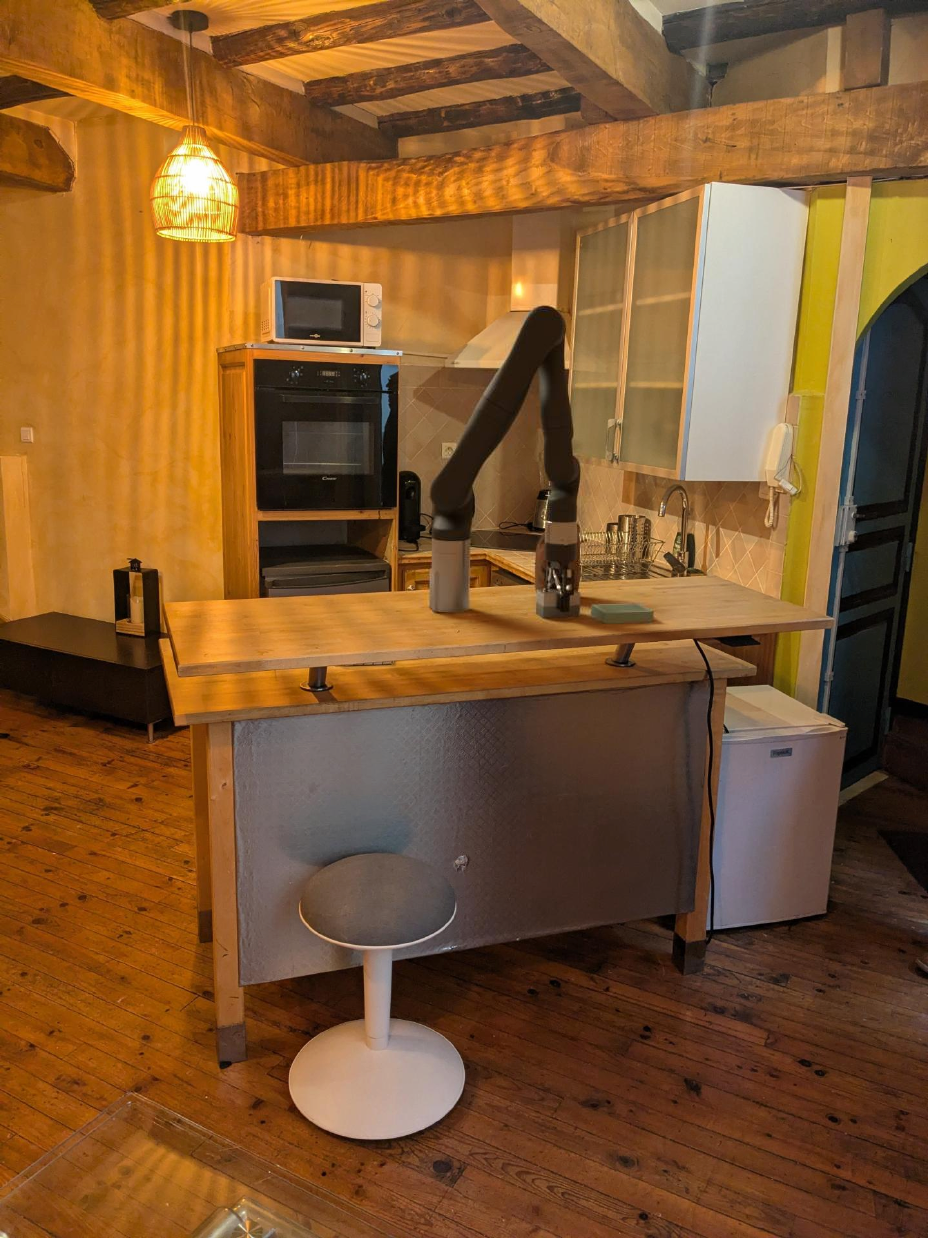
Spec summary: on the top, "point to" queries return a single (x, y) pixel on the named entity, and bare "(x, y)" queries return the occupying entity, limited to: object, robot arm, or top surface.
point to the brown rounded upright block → (541, 562)
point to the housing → (555, 604)
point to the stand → (622, 613)
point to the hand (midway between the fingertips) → (558, 608)
